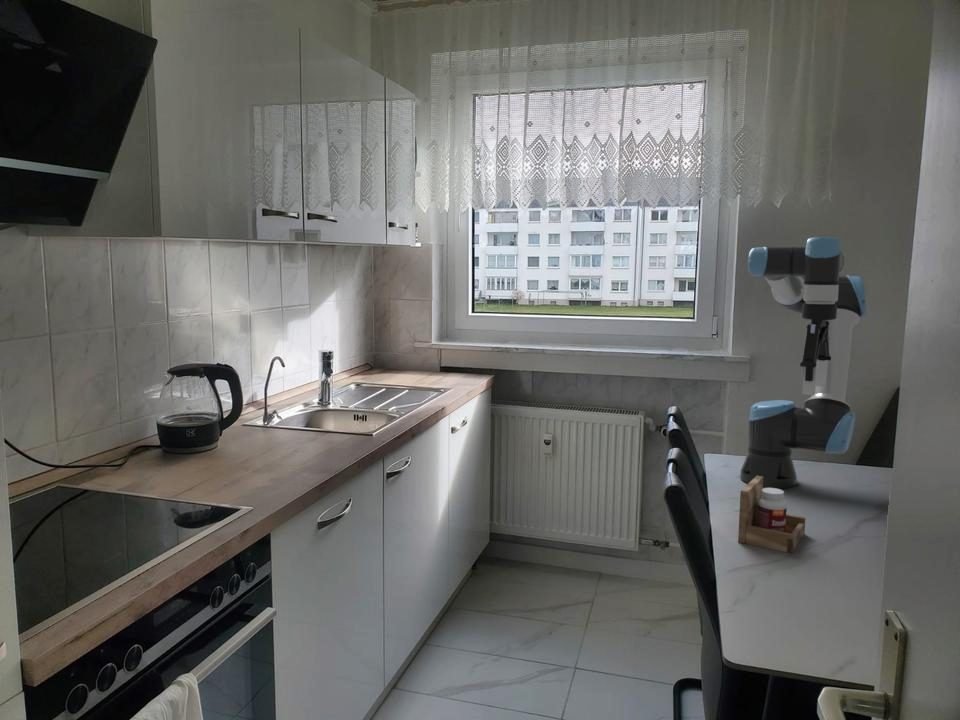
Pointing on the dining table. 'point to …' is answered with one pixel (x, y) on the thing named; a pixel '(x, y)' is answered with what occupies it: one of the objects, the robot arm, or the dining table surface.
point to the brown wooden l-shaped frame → (763, 535)
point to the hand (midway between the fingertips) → (814, 390)
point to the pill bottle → (772, 510)
